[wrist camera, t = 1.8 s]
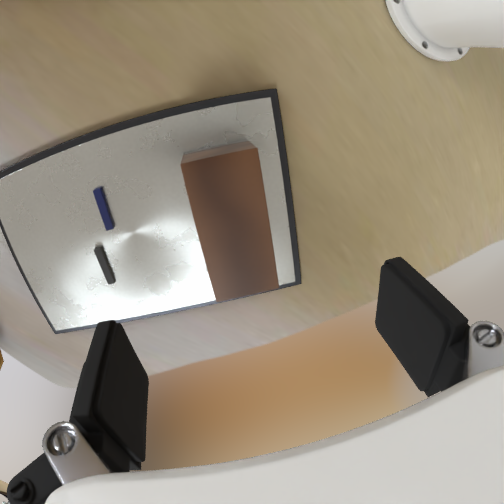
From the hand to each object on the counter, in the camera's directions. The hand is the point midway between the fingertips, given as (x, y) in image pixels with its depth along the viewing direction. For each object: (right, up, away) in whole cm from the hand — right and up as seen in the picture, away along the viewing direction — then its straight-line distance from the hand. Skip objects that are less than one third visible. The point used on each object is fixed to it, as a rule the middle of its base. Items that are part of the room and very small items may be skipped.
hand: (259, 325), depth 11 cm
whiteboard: (-11, +5, +18) cm, 22 cm away
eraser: (-2, +6, +18) cm, 19 cm away
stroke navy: (-14, +6, +16) cm, 22 cm away
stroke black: (-15, +1, +18) cm, 23 cm away
